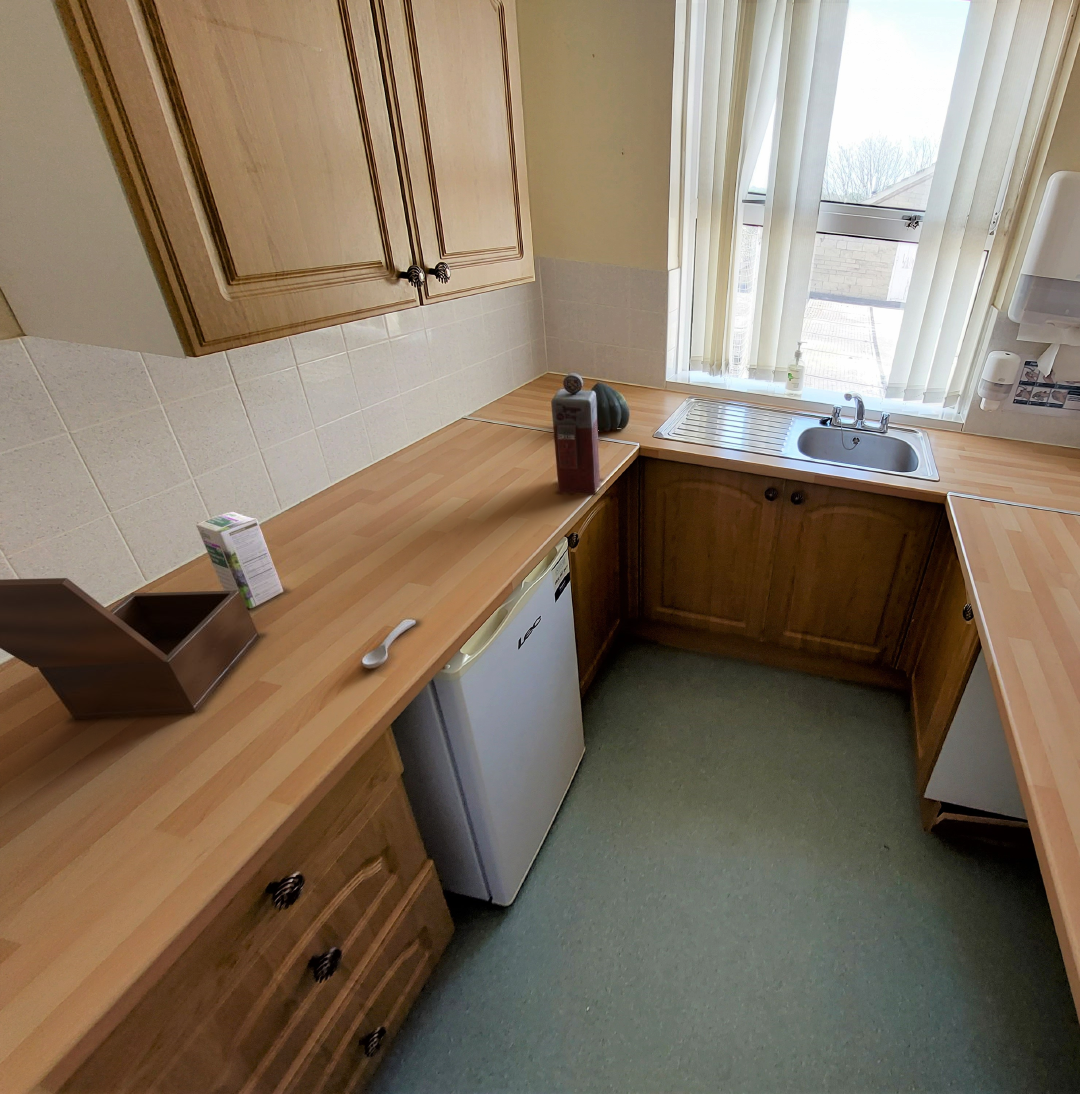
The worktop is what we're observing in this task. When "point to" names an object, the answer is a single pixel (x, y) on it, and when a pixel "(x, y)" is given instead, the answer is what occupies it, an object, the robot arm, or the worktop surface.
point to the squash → (610, 408)
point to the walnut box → (180, 633)
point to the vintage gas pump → (576, 437)
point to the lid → (65, 627)
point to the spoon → (385, 646)
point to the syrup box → (240, 557)
